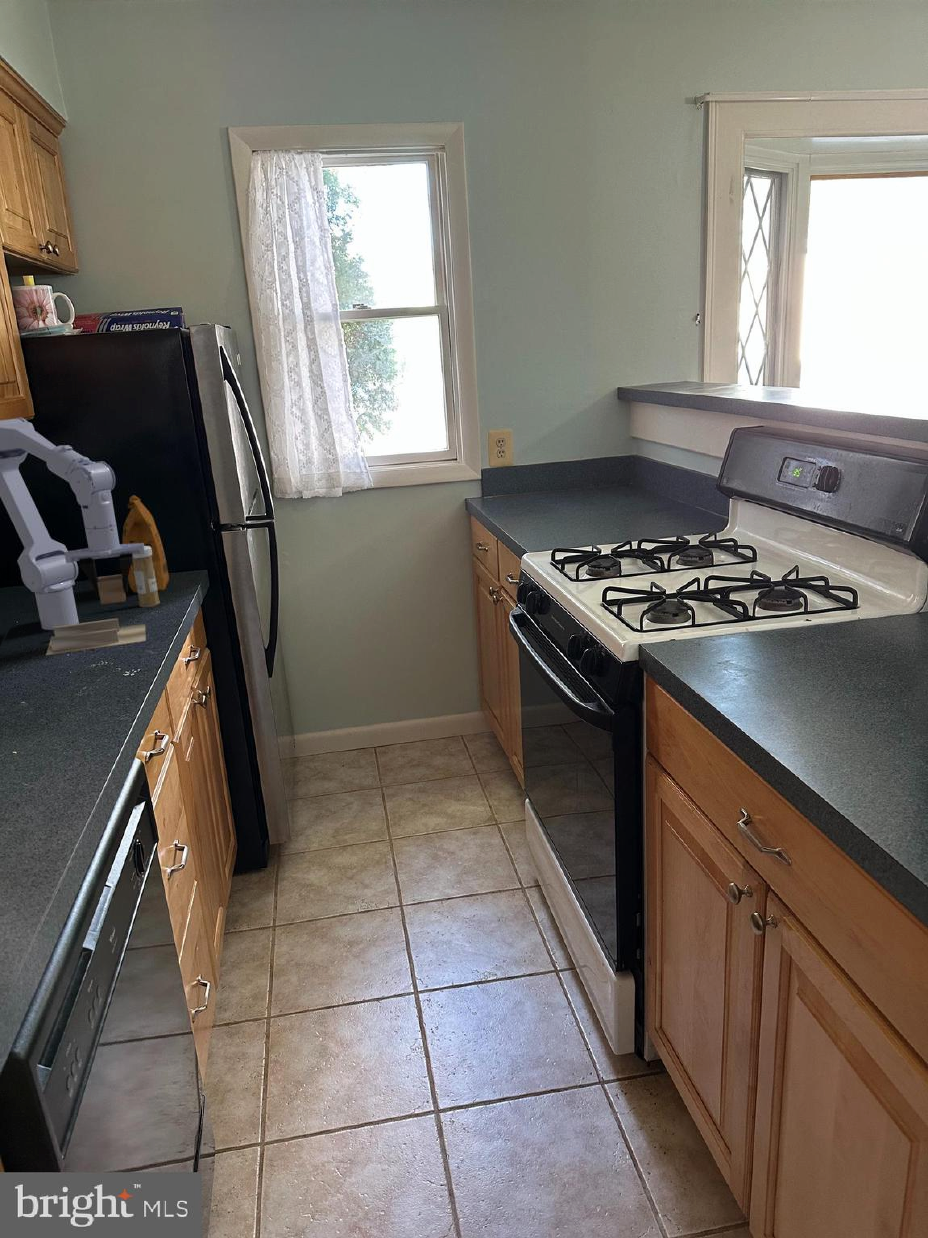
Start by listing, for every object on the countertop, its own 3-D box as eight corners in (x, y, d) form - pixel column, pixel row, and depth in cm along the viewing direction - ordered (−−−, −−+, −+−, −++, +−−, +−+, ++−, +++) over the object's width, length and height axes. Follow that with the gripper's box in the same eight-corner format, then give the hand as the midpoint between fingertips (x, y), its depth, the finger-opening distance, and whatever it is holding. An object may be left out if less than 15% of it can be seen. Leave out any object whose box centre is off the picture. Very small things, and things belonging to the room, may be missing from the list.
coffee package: (124, 595, 212) (109, 504, 205) (130, 583, 223) (115, 496, 217) (168, 590, 214) (154, 500, 207) (171, 578, 225) (158, 492, 219)
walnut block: (102, 598, 179) (98, 577, 177) (125, 595, 180) (121, 574, 179) (101, 604, 174) (97, 582, 173) (125, 601, 176) (121, 579, 175)
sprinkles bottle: (162, 605, 202) (153, 547, 198) (142, 609, 199) (132, 550, 195) (157, 601, 205) (148, 544, 201) (136, 604, 203) (127, 547, 199)
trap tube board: (52, 641, 179) (49, 625, 178) (145, 628, 185) (143, 612, 184) (47, 660, 168) (43, 642, 167) (146, 645, 174) (143, 628, 173)
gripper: (58, 534, 167) (71, 603, 171) (139, 525, 171) (150, 592, 175) (61, 527, 173) (74, 594, 177) (139, 519, 178) (150, 584, 182)
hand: (112, 593), depth 177 cm, fingers closed on walnut block, 4 cm apart
